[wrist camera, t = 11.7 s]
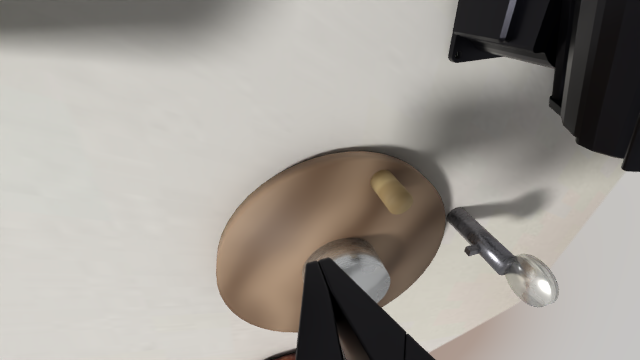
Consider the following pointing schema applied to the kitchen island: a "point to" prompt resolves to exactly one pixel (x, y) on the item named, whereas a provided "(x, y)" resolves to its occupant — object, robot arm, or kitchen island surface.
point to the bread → (286, 357)
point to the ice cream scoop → (507, 262)
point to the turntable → (325, 231)
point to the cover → (356, 264)
